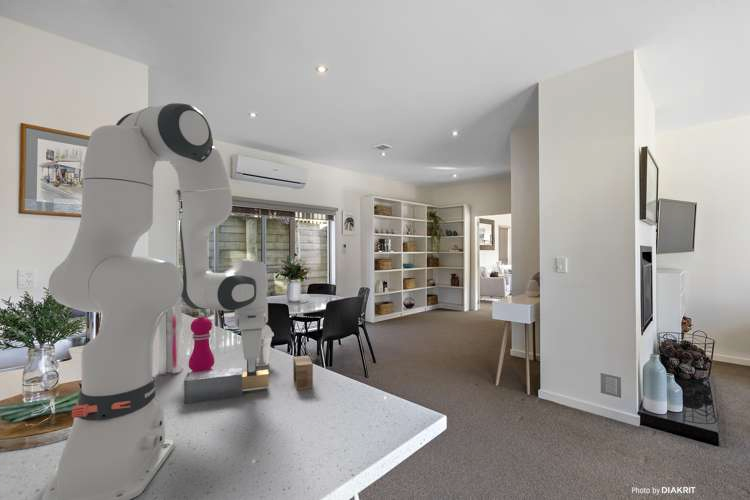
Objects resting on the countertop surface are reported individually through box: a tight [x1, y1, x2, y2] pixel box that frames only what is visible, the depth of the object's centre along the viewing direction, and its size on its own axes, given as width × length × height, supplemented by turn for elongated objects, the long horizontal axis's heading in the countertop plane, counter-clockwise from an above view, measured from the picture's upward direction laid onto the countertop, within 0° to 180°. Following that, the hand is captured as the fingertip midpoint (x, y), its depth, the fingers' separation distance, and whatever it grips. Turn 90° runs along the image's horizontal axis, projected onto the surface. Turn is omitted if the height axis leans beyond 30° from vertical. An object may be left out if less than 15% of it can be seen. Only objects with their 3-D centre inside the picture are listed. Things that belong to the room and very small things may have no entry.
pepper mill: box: [188, 312, 215, 372], centre depth 109 cm, size 7×7×20 cm
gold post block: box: [242, 360, 270, 391], centre depth 97 cm, size 4×20×10 cm, turn 110°
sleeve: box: [183, 366, 243, 405], centre depth 96 cm, size 6×14×6 cm, turn 110°
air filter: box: [157, 296, 183, 376], centre depth 113 cm, size 6×6×25 cm
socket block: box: [292, 355, 314, 391], centre depth 104 cm, size 8×4×7 cm, turn 20°
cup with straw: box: [256, 323, 275, 367], centre depth 121 cm, size 8×9×20 cm
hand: (251, 365), depth 99 cm, fingers open, 8 cm apart
